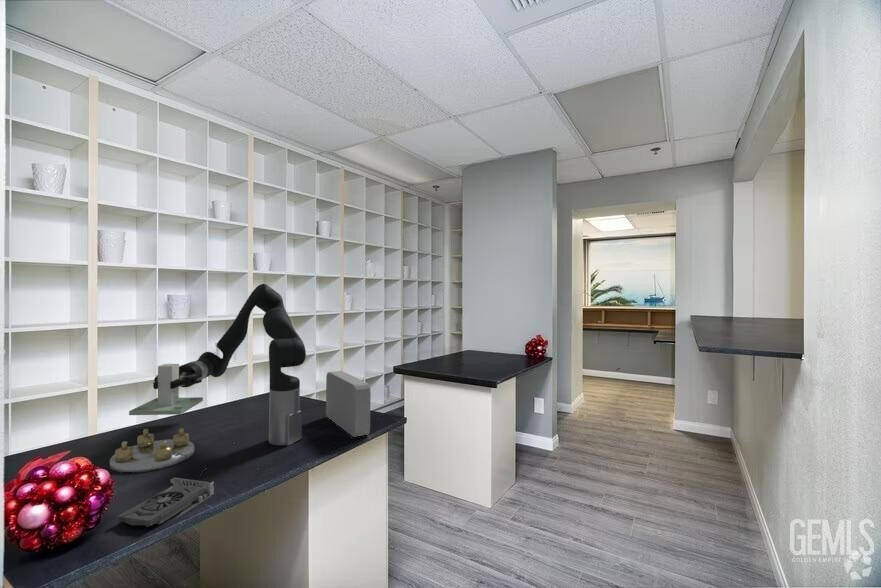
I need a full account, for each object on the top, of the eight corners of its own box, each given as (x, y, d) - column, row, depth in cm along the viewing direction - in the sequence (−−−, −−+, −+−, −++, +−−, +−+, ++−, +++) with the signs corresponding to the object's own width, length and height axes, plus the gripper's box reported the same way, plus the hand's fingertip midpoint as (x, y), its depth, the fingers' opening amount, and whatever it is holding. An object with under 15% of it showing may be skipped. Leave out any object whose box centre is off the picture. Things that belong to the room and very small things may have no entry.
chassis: (205, 443, 130) (206, 422, 130) (172, 471, 110) (173, 447, 110) (137, 445, 127) (137, 424, 127) (91, 474, 107) (91, 449, 107)
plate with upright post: (202, 401, 133) (203, 360, 133) (180, 414, 120) (181, 369, 119) (156, 401, 132) (157, 360, 132) (129, 415, 118) (129, 369, 118)
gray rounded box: (376, 436, 139) (377, 383, 139) (355, 440, 135) (356, 386, 134) (344, 414, 162) (345, 368, 162) (325, 417, 158) (326, 370, 158)
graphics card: (174, 475, 102) (214, 480, 99) (174, 490, 102) (215, 495, 99) (104, 511, 85) (150, 519, 82) (104, 529, 85) (151, 537, 82)
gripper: (169, 362, 139) (137, 373, 122) (213, 362, 141) (188, 373, 123) (168, 384, 139) (137, 398, 122) (213, 384, 141) (188, 397, 124)
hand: (163, 385), depth 123 cm, fingers closed on plate with upright post, 4 cm apart
